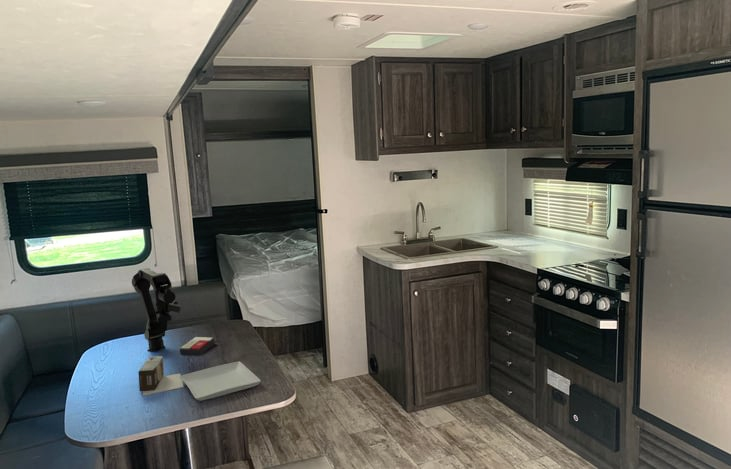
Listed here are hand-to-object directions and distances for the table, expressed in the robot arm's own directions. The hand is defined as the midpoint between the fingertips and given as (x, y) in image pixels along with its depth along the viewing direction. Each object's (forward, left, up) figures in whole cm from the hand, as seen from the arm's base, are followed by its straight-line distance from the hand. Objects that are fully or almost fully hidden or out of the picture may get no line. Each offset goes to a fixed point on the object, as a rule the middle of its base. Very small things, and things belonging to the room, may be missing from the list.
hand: (165, 330), depth 265 cm
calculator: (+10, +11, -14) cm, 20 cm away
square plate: (+43, -27, -14) cm, 53 cm away
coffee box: (+10, -22, -8) cm, 26 cm away
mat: (+17, -30, -13) cm, 37 cm away
